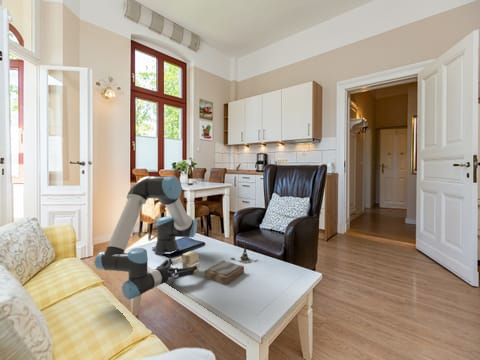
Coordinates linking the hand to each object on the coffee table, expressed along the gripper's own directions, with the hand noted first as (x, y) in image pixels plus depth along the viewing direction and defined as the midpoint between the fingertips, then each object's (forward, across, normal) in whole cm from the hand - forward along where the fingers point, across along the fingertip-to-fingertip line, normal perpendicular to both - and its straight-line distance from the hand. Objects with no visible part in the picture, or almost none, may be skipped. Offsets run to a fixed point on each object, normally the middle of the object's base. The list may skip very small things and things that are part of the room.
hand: (190, 261), depth 127 cm
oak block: (+1, 0, -6) cm, 6 cm away
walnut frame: (+8, +18, -6) cm, 20 cm away
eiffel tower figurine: (+31, +15, -7) cm, 36 cm away
